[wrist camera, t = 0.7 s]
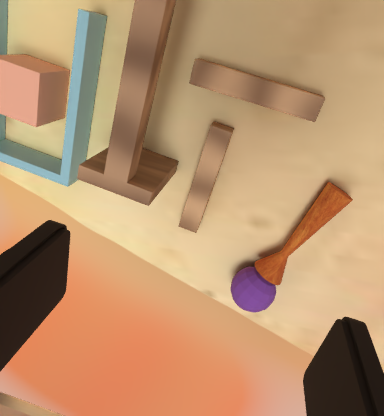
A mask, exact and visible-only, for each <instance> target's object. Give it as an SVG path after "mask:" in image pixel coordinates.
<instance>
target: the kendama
mask: <svg viewBox="0 0 384 416" xmlns="http://www.w3.org/2000/svg"><path fill="white" fill-rule="evenodd" d="M352 200H353V199H352V198H351V197H350V196H349V195H348V194H346V193H345V192H344V191H342V190H341V189H339V188H338V187H336V186H335V185H333V184H332V183H330V182H328V183H327V185H326V186H325V188H324V189H323V191H322V192H321V194H320V195H319V196H318V198H317V199H316V201H315V202H314V204H313V205H312V207H311V208H310V210H309V211H308V212H307V214H306V215H305V217H304V218H303V220H302V221H301V223H300V224H299V226H298V227H297V228H296V230H295V231H294V233H293V234H292V236H291V237H290V239H289V240H288V242H287V243H286V244H285V246H284V247H283V249H282V250H281V251H280V252H277V253H275V254H272V255H270V256H267V257H265V258H262V259H260V260H257V261H256V262H255V267H246V268H244V269H241V270H240V271H239V272H238V273H237V274H236V275H235V276H234V277H233V280H232V284H231V293H232V297H233V300H234V301H235V303H236V304H237V305H238V306H239V307H240V308H242V309H243V310H246V311H250V312H259V311H262V310H265V309H267V308H268V307H269V305H270V304H271V303H272V302H273V301H274V298H275V295H276V287H275V285H280V283H281V281H282V277H283V273H284V269H285V266H286V262H287V258H288V256H289V255H290V254H291V253H293V252H294V251H295V250H296V249H297V248H298V247H299V246H301V245H302V244H303V243H304V242H305V241H306V240H308V239H309V238H310V237H311V236H312V235H313V234H314V233H316V232H317V231H318V230H319V229H320V228H321V227H322V226H324V225H325V224H326V223H327V222H328V221H329V220H330V219H332V218H333V217H334V216H335V215H336V214H337V213H338V212H340V211H341V210H342V209H343V208H344V207H345V206H346V205H348V204H349V203H350V202H351V201H352Z"/></svg>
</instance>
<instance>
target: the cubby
mask: <svg viewBox="0 0 384 416" xmlns="http://www.w3.org/2000/svg"><path fill="white" fill-rule="evenodd" d="M7 18H8V0H0V55H7ZM106 20H107V16H105V15H102V14H99V13H96V12H91V11H87V10H82V9H78V17H77V27H76V36H75V45H74V54H73V63H72V72H71V82H70V91H69V100H68V109H67V118H66V128H65V137H64V146H63V155H62V160H60V159H58V158H55V157H52V156H50V155H47V154H44V153H42V152H39V151H36V150H34V149H31V148H28V147H26V146H23V145H21V144H18V143H15V142H13V141H10V140H7V139H5V124H6V116H5V115H2V114H0V161H2V162H4V163H7V164H10V165H12V166H15V167H18V168H20V169H23V170H25V171H28V172H31V173H33V174H36V175H38V176H41V177H44V178H46V179H49V180H52V181H54V182H57V183H59V184H62V185H65V186H67V187H68V186H70V185H71V184H73V183H74V182H76V181H77V180H79V179H77V176H78V168H79V165H80V164H81V163H83V162H85V161H86V156H87V149H88V142H89V135H90V129H91V122H92V115H93V108H94V101H95V95H96V88H97V81H98V74H99V67H100V60H101V54H102V47H103V40H104V33H105V26H106Z"/></svg>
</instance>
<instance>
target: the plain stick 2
mask: <svg viewBox="0 0 384 416" xmlns="http://www.w3.org/2000/svg"><path fill="white" fill-rule="evenodd" d="M189 83H190V84H193V85H196V86H199V87H203V88H206V89H209V90H212V91H215V92H219V93H222V94H225V95H228V96H232V97H235V98H238V99H241V100H245V101H248V102H251V103H254V104H258V105H261V106H264V107H267V108H270V109H274V110H277V111H280V112H283V113H287V114H290V115H293V116H296V117H300V118H303V119H306V120H309V121H312V122H315V121H316V119H317V116H318V114H319V112H320V109H321V107H322V105H323V103H324V100H325V98H324V97H323V96H322V95H318V94H315V93H312V92H308V91H305V90H302V89H298V88H295V87H292V86H288V85H285V84H282V83H279V82H275V81H272V80H269V79H265V78H262V77H259V76H255V75H252V74H249V73H245V72H242V71H239V70H236V69H232V68H229V67H226V66H222V65H219V64H216V63H212V62H209V61H206V60H202V59H195V61H194V65H193V70H192V74H191V78H190V82H189Z"/></svg>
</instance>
